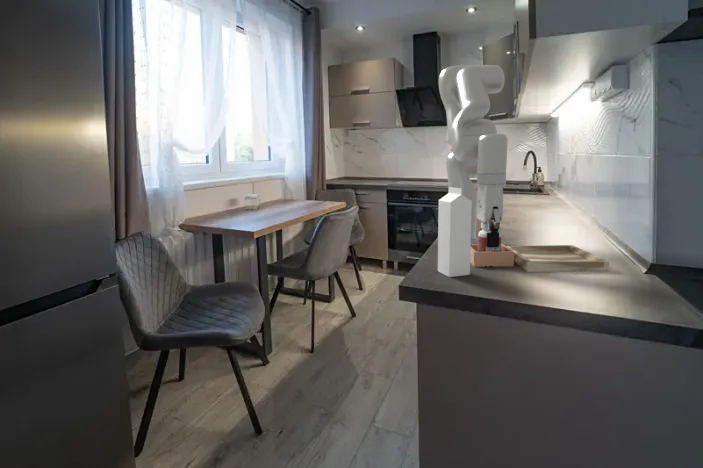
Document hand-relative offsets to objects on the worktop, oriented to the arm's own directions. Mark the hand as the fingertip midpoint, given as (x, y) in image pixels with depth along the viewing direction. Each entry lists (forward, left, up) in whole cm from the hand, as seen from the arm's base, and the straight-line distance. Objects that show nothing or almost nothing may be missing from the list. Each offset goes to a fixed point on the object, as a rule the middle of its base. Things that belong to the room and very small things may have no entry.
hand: (489, 243), depth 117 cm
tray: (+1, +17, -5) cm, 18 cm away
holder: (0, 0, -5) cm, 5 cm away
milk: (+11, -12, -5) cm, 17 cm away
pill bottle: (0, 0, -5) cm, 5 cm away
